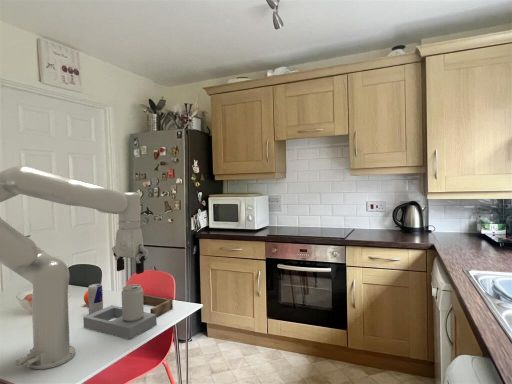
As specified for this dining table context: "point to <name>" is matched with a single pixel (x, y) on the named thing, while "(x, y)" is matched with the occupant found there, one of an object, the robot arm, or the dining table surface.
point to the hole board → (118, 322)
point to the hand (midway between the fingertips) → (130, 271)
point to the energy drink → (95, 298)
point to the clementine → (86, 298)
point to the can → (132, 303)
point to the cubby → (158, 304)
